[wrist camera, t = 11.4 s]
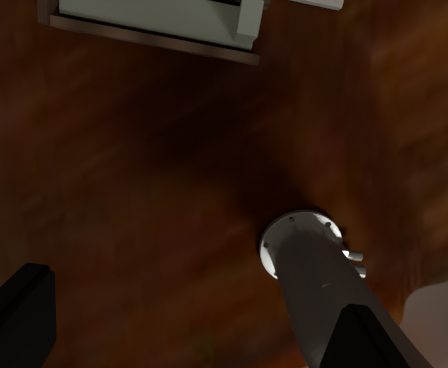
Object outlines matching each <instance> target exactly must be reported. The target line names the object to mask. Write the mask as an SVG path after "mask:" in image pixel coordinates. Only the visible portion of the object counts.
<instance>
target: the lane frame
mask: <svg viewBox="0 0 448 368" xmlns="http://www.w3.org/2000/svg"><path fill="white" fill-rule="evenodd" d="M217 1H222V2H227V3H232V4H237V5H240V4H241V1H242V0H217ZM263 1H264V5H263V10H267V9H268V7H269V6H270V3H271V0H263ZM37 15H38V23H41V24H44V25H47V26H50V27H53V28H58V29H63V30H68V31H73V32H79V33H84V34H89V35H95V36H100V37H105V38H111V39H116V40H121V41H126V42H132V43H137V44H142V45H148V46H153V47H158V48H164V49H169V50H174V51H180V52H185V53H190V54H195V55H201V56H206V57H211V58H217V59H222V60H227V61H233V62H238V63H243V64H248V65H254V66H256V65H258V64H259V59H260V55H256V54H251V53H246V52H241V51H235V50H230V49H225V48H220V47H215V46H209V45H204V44H199V43H194V42H189V41H183V40H178V39H173V38H168V37H163V36H157V35H152V34H147V33H142V32H137V31H131V30H126V29H121V28H116V27H110V26H105V25H100V24H95V23H90V22H84V21H79V20H74V19H69V18H64V17H62V14H61V13H60V11H59V0H37Z"/></svg>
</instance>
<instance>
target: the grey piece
mask: <svg viewBox="0 0 448 368" xmlns="http://www.w3.org/2000/svg"><path fill="white" fill-rule="evenodd" d="M291 1H296V2H301V3H305V4H310V5H315V6H320V7H324V8H329V9H334V10H339V9H341V8H342V5H343V1H344V0H291Z"/></svg>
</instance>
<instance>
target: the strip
mask: <svg viewBox="0 0 448 368" xmlns="http://www.w3.org/2000/svg"><path fill="white" fill-rule="evenodd" d="M263 5H264V1H263V0H242V1H241V4H240V7H239V6H234V5H229V4H224V3H219V2H214V1H209V0H59V11H60V13H61V14H64V15H67V16H72V17H78V18H83V19H88V20H93V21H98V22H104V23H109V24H114V25H119V26H124V27H129V28H135V29H140V30H145V31H150V32H155V33H161V34H166V35H171V36H176V37H181V38H186V39H192V40H197V41H202V42H207V43H212V44H218V45H223V46H228V47H233V48H238V49H244V50H249V51H251V50H252V44H253V41H254V40H255V39H256V38H257V37H258V32H259V26H260V21H261V16H262V10H263Z"/></svg>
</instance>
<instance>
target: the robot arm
mask: <svg viewBox="0 0 448 368" xmlns="http://www.w3.org/2000/svg"><path fill="white" fill-rule="evenodd" d="M290 217H291V218H290ZM259 253H260V258H261V262H262V264H263V266H264V268H265V269H266V270H267V272H268V273H269V274H270V275H271V276H273V277H274V278H276V279H278V282H279V285H280V289H281V292H282V295H283V298H284V301H285V305H286V308H287V311H288V314H289V317H290V321H291V324H292V327H293V330H294V333H295V337H296V340H297V342H298V346H299V349H300V352H301V354H302V357H303V359H304V361H305V363H306V364H307V366H308V367H309V368H433V366H432V365H431V364H430V363H429V362H428V361H427V360H426V359H425V358H424V356H423V355H422V354H421V353H420V352H419V351H418V349H417V348H416V347H415V346H414V345H413V343H412V342H411V341H410V340H409V338H408V337H407V336H406V335H405V333H404V332H403V331H402V330H401V328H400V327H399V326H398V325H397V323H396V322H395V321H394V319H393V318H392V317H391V315H390V314H389V313H388V311H387V310H386V309H385V307H384V306H383V305H382V304H381V302H380V301H379V300H378V298H377V297H376V296H375V294H374V293H373V292H372V290H371V289H370V287H369V286H368V285H367V283H366V282H365V281H364V279H363V278H364V277H365V275H366V269H365V267H364V266H363V265H359V264H352V263H351V262H350V261H349V259H350V260H354V261H362V259H363V254H362V252H359V251H349V250H347V249H346V248H345V247H344V245H343V239H342V235H341V232H340V230H339V228H338V227H337V225H336V224H335V223H334V222H333V221H332V220H331V219H330V218H329V217H328V216H326V215H324V214H323V213H320V212H317V211H313V210H295V211H291V212H288V213H285V214H283V215H281V216H280V217H278V218H276V219H275V220H274V221H273V222H271V223H270V224H269V226H268V227H267V228H266V229H265V231H264V233H263V235H262V237H261V240H260V244H259ZM56 335H57V334H56V300H55V273H54V271H50V268H49V266H48V265H42V264H34V263H26V264H25V265H23V266H22V267H21V268H20V269H19V270H18V271H17V272H16V273H15V274H14V275H13V276H12V277H11V278H10V279H9V280H7V281H6V282H5V283H4V284H3V285H2V286H1V287H0V368H41V367H42V365H43V363H44V362H45V360H46V358H47V357H48V355H49V354H50V352H51V350H52V349H53V347H54V344H55V341H56Z"/></svg>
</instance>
